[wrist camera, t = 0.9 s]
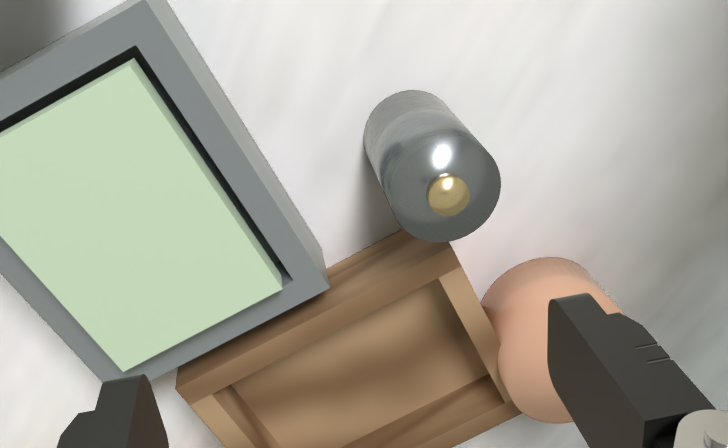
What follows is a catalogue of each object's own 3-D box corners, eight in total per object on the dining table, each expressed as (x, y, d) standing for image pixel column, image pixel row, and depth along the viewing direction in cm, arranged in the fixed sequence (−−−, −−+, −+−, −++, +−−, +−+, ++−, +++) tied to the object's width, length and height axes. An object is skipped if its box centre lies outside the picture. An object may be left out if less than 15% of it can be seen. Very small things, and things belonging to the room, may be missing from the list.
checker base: (156, -17, 28) (144, -2, 25) (321, 248, 35) (330, 287, 31) (-76, 115, 29) (-117, 147, 26) (128, 349, 35) (117, 398, 32)
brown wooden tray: (180, 344, 36) (175, 388, 33) (432, 213, 35) (451, 246, 32) (289, 476, 41) (293, 525, 38) (510, 366, 40) (533, 407, 37)
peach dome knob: (575, 235, 37) (621, 284, 32) (612, 327, 40) (658, 383, 36) (457, 295, 37) (486, 352, 33) (503, 382, 40) (535, 444, 36)
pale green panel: (134, 57, 26) (129, 65, 25) (281, 274, 31) (282, 289, 30) (-47, 158, 26) (-59, 170, 25) (127, 355, 32) (123, 372, 30)
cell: (432, 72, 32) (480, 121, 25) (468, 151, 34) (520, 215, 27) (347, 118, 32) (373, 178, 26) (388, 194, 34) (421, 266, 28)
